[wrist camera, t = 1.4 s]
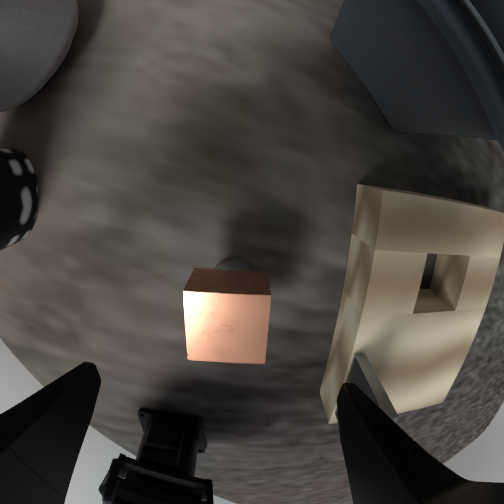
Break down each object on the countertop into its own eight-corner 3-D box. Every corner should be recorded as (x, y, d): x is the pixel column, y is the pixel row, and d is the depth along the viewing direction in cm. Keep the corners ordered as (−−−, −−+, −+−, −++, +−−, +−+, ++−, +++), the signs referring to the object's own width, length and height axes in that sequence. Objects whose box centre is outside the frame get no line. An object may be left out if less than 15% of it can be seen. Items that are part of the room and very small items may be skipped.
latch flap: (364, 471, 13) (353, 473, 13) (344, 412, 19) (334, 413, 19) (399, 417, 12) (386, 419, 12) (364, 353, 17) (354, 354, 17)
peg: (259, 304, 21) (264, 363, 14) (204, 302, 20) (187, 359, 14) (263, 251, 19) (271, 295, 13) (203, 248, 19) (183, 291, 13)
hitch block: (425, 378, 24) (442, 402, 20) (319, 391, 23) (328, 423, 20) (476, 204, 18) (508, 214, 15) (357, 184, 18) (383, 190, 14)
